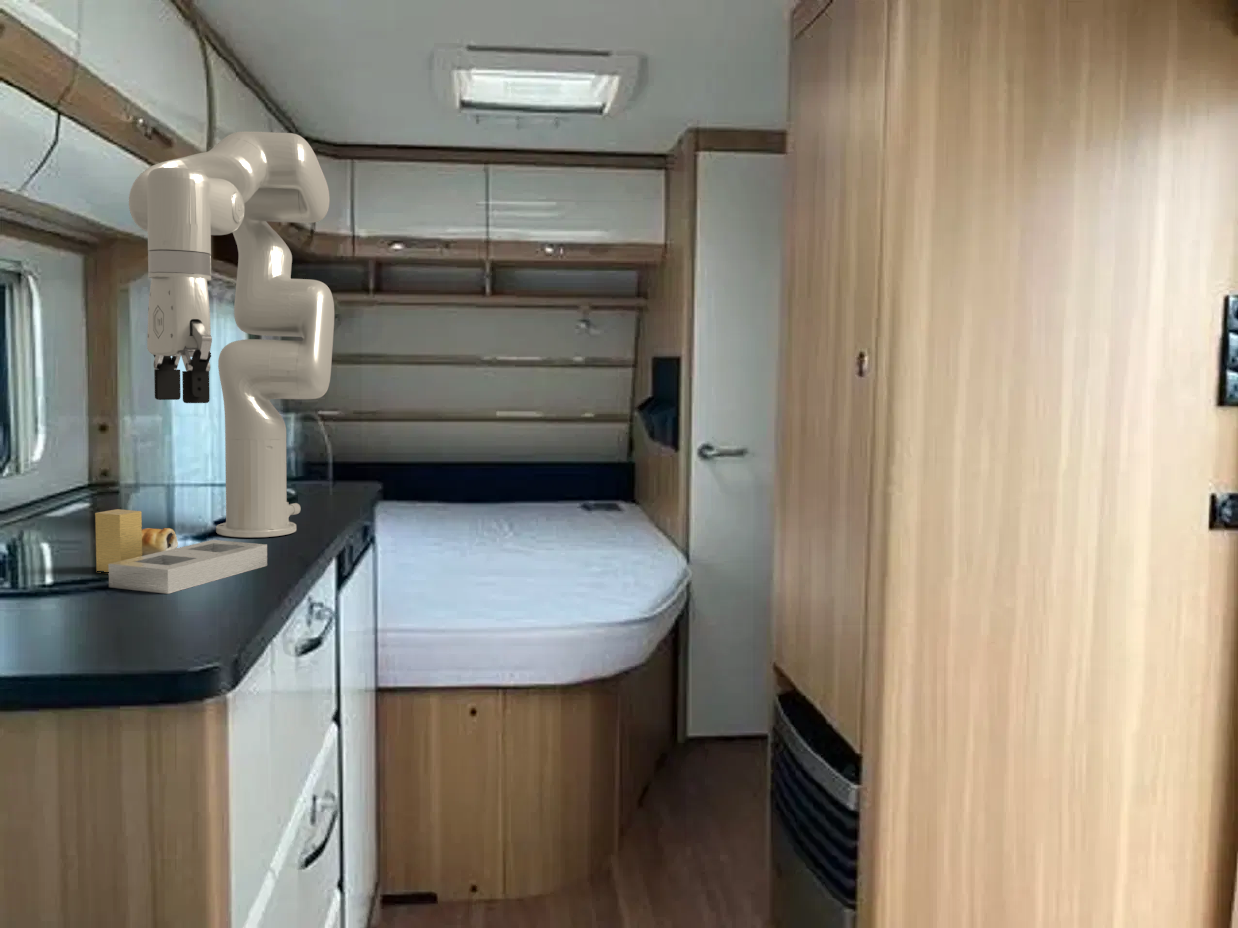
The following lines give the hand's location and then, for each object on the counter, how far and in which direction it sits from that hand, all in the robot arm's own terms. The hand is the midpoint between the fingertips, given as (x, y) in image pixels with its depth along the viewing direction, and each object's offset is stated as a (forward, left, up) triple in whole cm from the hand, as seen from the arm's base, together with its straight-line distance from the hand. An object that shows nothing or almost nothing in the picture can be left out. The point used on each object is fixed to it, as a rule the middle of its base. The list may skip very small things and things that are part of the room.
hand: (181, 401), depth 144 cm
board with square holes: (-1, 0, -23) cm, 23 cm away
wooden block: (0, -11, -23) cm, 26 cm away
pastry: (-13, -18, -24) cm, 32 cm away
